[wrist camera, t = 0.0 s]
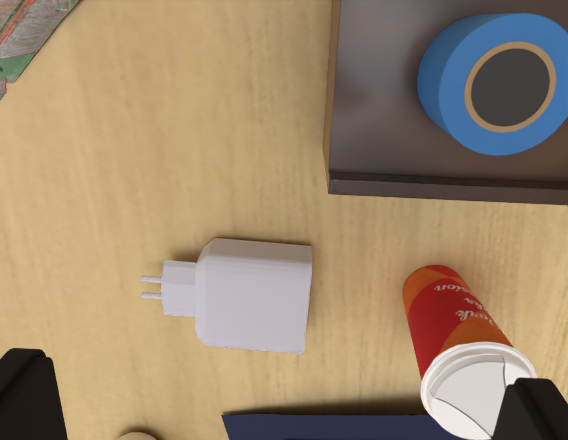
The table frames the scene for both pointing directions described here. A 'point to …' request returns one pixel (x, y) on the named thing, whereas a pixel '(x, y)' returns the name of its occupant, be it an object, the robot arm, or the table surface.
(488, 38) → the tape roll
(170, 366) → the table surface
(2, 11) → the map
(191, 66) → the table surface
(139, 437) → the silver metal bottle
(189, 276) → the charger
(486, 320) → the paper cup
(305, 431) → the navy flat layered slab
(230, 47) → the table surface
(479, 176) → the desk shelf
